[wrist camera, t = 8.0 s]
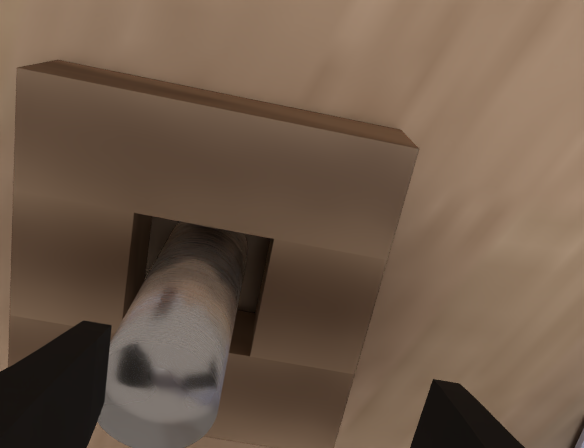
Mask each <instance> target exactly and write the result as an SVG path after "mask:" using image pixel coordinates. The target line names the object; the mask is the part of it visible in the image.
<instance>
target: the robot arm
mask: <svg viewBox="0 0 584 448" xmlns="http://www.w3.org/2000/svg"><path fill="white" fill-rule="evenodd" d="M111 328H112V325H108V324H102V323H96V322H90V321H85V320H83V321H82V322H80V323H79V324H77V325H75V326H74V327H72V328H71V329H69V330H67V331H66V332H64V333H63V334H61V335H60V336H58V337H57V338H55V339H53V340H52V341H50V342H49V343H47V344H46V345H44V346H43V347H41V348H39V349H38V350H36V351H35V352H33V353H31V354H30V355H28V356H27V357H25V358H23V359H22V360H20V361H18V362H17V363H15V364H13V365H12V366H10V367H8V368H6V369H5V370H3V371H1V372H0V448H86V447H87V445H88V443H89V441H90V438H91V436H92V433H93V431H94V428H95V426H96V423H97V421H98V418H99V415H100V413H101V410H102V408H103V405H104V402H105V392H106V381H107V371H108V360H109V349H110V339H111ZM410 448H525V447H524V446H523V445H521V444H520V443H519V442H518V441H517V440H516V439H515V438H514V437H513V436H512V435H511V434H510V433H509V432H508V431H507V430H506V429H505V428H504V427H503V426H502V425H501V424H500V423H499V422H498V421H497V420H496V419H495V418H494V417H493V416H492V415H491V414H490V413H489V412H488V410H487V409H486V408H485V407H484V406H483V405H482V404H481V403H480V402H479V401H478V400H477V399H476V398H475V397H474V396H472V395H471V394H470V393H469V392H468V391H467V390H466V389H465V388H464V387H463V386H462V385H460V384H459V383H453V382H447V381H441V380H435V379H433V381H432V384H431V387H430V390H429V393H428V396H427V399H426V402H425V405H424V408H423V411H422V414H421V417H420V420H419V423H418V426H417V429H416V432H415V435H414V438H413V441H412V444H411V447H410ZM575 448H584V429H583V431H582V433H581V435H580V437H579V439H578V442H577V444H576V446H575Z"/></svg>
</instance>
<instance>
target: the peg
mask: <svg viewBox="0 0 584 448" xmlns="http://www.w3.org/2000/svg"><path fill="white" fill-rule="evenodd" d="M247 255H248V244H247V239H246V237H245V234H244V233H240V232H234V231H229V230H224V229H218V228H213V227H208V226H202V225H197V224H192V223H186V222H181V221H180V222H179V223H178V224H177V225H176V226H175V228H174V229H173V231H172V233H171V235H170V236H169V238H168V240H167V242H166V243H165V245H164V247H163V249H162V251H161V252H160V254H159V256H158V258H157V260H156V261H155V263H154V265H153V267H152V268H151V270H150V272H149V274H148V276H147V277H146V279H145V281H144V283H143V284H142V286H141V288H140V290H139V292H138V293H137V295H136V297H135V299H134V301H133V302H132V304H131V306H130V308H129V309H128V311H127V313H126V315H125V317H124V318H123V320H122V322H121V324H120V325H119V327H118V329H117V331H116V333H115V334H114V336H113V338H112V340H111V342H110V349H109V360H108V371H107V381H106V392H105V402H104V405H103V408H102V410H101V413H100V415H99V418H98V421H97V422H98V423H99V425H100V426H101V427H102V428H103V429H104V430H105V431H106V432H107V433H108V434H109V435H110V436H112V437H113V438H115V439H116V440H118V441H119V442H121V443H123V444H125V445H127V446H130V447H133V448H184V447H187V446H189V445H191V444H193V443H195V442H196V441H198V440H199V439H201V438H202V437H203V436H204V435H205V434H206V433H207V432H208V431H209V429H210V428H211V427H212V425H213V423H214V421H215V419H216V416H217V413H218V408H219V402H220V397H221V392H222V387H223V381H224V376H225V371H226V366H227V360H228V355H229V350H230V344H231V339H232V334H233V329H234V323H235V318H236V313H237V308H238V302H239V297H240V292H241V286H242V281H243V276H244V271H245V265H246V260H247Z"/></svg>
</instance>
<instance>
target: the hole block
mask: <svg viewBox="0 0 584 448" xmlns="http://www.w3.org/2000/svg"><path fill="white" fill-rule="evenodd" d="M418 152H419V148H418V147H417V146H416V145H415V144H414V143H413V142H412V141H411V140H410V139H409V138H408V137H407V136H406V135H405V134H404V132H403V131H402V130H399V129H394V128H389V127H384V126H379V125H374V124H369V123H364V122H359V121H354V120H350V119H345V118H340V117H335V116H330V115H325V114H320V113H315V112H310V111H305V110H300V109H296V108H291V107H286V106H281V105H276V104H271V103H266V102H261V101H256V100H251V99H247V98H242V97H237V96H232V95H227V94H222V93H217V92H212V91H207V90H202V89H198V88H193V87H188V86H183V85H178V84H173V83H168V82H163V81H158V80H153V79H149V78H144V77H139V76H134V75H129V74H124V73H119V72H114V71H109V70H104V69H99V68H95V67H90V66H85V65H80V64H75V63H70V62H65V61H60V60H55V61H50V62H44V63H39V64H34V65H28V66H23V67H17V78H16V112H15V147H14V181H13V216H12V250H11V285H10V320H9V354H8V367H10V366H12V365H13V364H15V363H17V362H18V361H20V360H22V359H23V358H25V357H27V356H28V355H30V354H31V353H33V352H35V351H36V350H38V349H39V348H41V347H43V346H44V345H46V344H47V343H49V342H50V341H52V340H53V339H55V338H57V337H58V336H60V335H61V334H63V333H64V332H66V331H67V330H69V329H71V328H72V327H74V326H75V325H77V324H79V323H80V322H82V321H83V320H85V321H90V322H96V323H102V324H108V325H112V328H111V339H110V342H111V340H112V338H113V336H114V334H115V333H116V331H117V329H118V327H119V325H120V324H121V322H122V320H123V318H124V317H125V315H126V313H127V311H128V309H129V308H130V306H131V304H132V302H133V301H134V299H135V297H136V295H137V293H138V292H139V290H140V288H141V286H142V284H143V283H144V279H145V270H146V262H147V254H148V246H149V237H150V229H151V221H152V216H154V217H160V218H165V219H170V220H176V221H181V222H186V223H192V224H197V225H202V226H208V227H213V228H218V229H224V230H229V231H234V232H240V233H245V234H250V235H256V236H261V237H266V238H271V239H270V244H269V249H268V254H267V259H266V264H265V269H264V274H263V279H262V284H261V288H260V293H259V298H258V303H257V308H256V313H250V312H244V311H238V310H237V313H236V318H235V323H234V329H233V334H232V339H231V344H230V350H229V355H228V360H227V366H226V371H225V376H224V381H223V387H222V392H221V397H220V402H219V408H218V413H217V416H216V419H215V421H214V423H213V425H212V427H211V428H210V429H209V431H208V432H207V433H206V434H205V435H204V437H210V438H216V439H222V440H229V441H235V442H241V443H247V444H253V445H260V446H266V447H272V448H334V446H335V442H336V439H337V435H338V432H339V428H340V425H341V421H342V418H343V414H344V411H345V407H346V404H347V400H348V397H349V393H350V390H351V386H352V383H353V379H354V376H355V372H356V369H357V365H358V362H359V358H360V355H361V351H362V348H363V344H364V341H365V337H366V334H367V330H368V327H369V323H370V320H371V316H372V313H373V309H374V306H375V302H376V299H377V295H378V292H379V288H380V285H381V281H382V278H383V274H384V271H385V267H386V264H387V260H388V257H389V253H390V250H391V246H392V243H393V239H394V236H395V232H396V229H397V225H398V222H399V218H400V215H401V211H402V208H403V204H404V201H405V197H406V194H407V190H408V187H409V183H410V180H411V176H412V173H413V169H414V166H415V162H416V159H417V155H418Z"/></svg>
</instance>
